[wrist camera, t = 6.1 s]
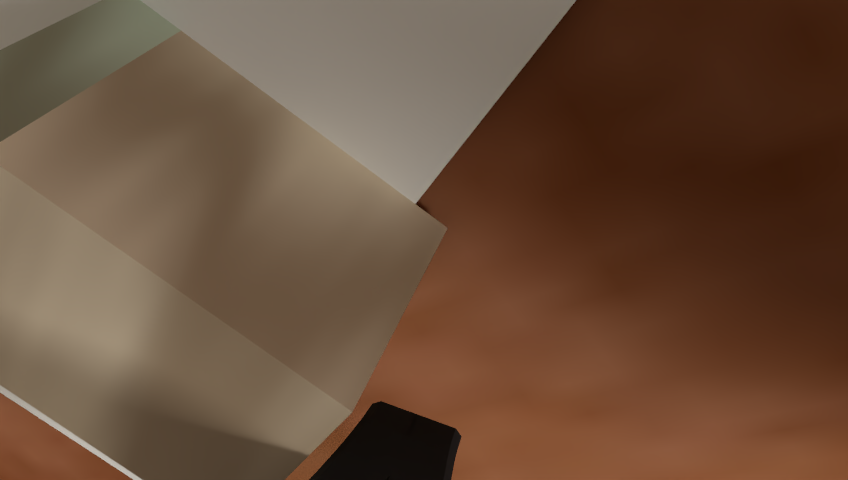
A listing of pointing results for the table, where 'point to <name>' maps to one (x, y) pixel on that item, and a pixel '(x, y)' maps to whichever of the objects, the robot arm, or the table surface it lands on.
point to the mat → (353, 72)
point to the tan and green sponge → (186, 253)
